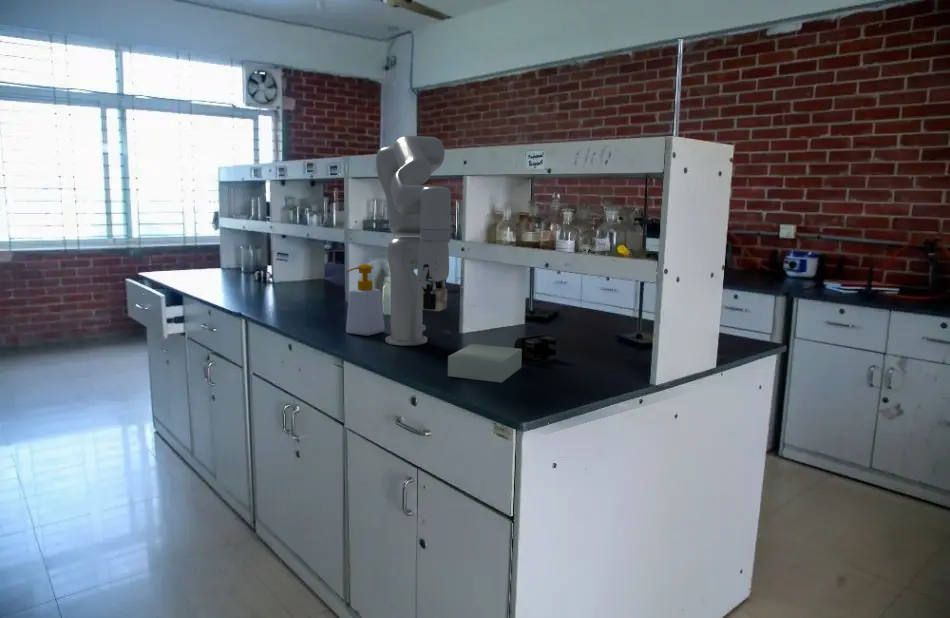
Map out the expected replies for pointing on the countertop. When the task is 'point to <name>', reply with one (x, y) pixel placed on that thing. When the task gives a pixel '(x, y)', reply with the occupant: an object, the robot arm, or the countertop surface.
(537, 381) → the countertop surface
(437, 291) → the maple cube
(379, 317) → the soap bottle
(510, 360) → the sage stand
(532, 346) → the end cap
